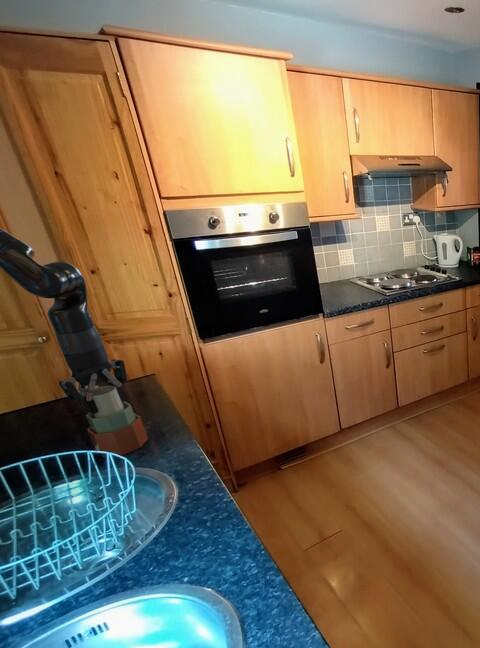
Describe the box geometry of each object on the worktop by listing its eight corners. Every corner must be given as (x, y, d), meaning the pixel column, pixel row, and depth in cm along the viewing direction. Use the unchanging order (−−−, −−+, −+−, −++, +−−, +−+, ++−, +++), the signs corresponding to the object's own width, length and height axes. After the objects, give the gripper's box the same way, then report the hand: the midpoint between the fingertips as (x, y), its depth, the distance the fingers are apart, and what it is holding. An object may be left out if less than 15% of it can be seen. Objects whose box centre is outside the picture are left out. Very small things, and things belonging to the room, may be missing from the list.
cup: (104, 429, 114) (91, 399, 110) (95, 423, 117) (82, 392, 113) (131, 419, 118) (119, 389, 115) (122, 413, 121) (110, 383, 117)
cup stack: (108, 461, 114) (92, 424, 110) (92, 448, 119) (76, 413, 115) (153, 441, 122) (140, 406, 118) (137, 430, 127) (123, 396, 122)
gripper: (100, 334, 116) (122, 391, 123) (35, 356, 103) (65, 419, 110) (123, 336, 115) (145, 394, 121) (61, 359, 102) (89, 423, 108)
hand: (107, 406), depth 116 cm, fingers closed on cup, 6 cm apart
